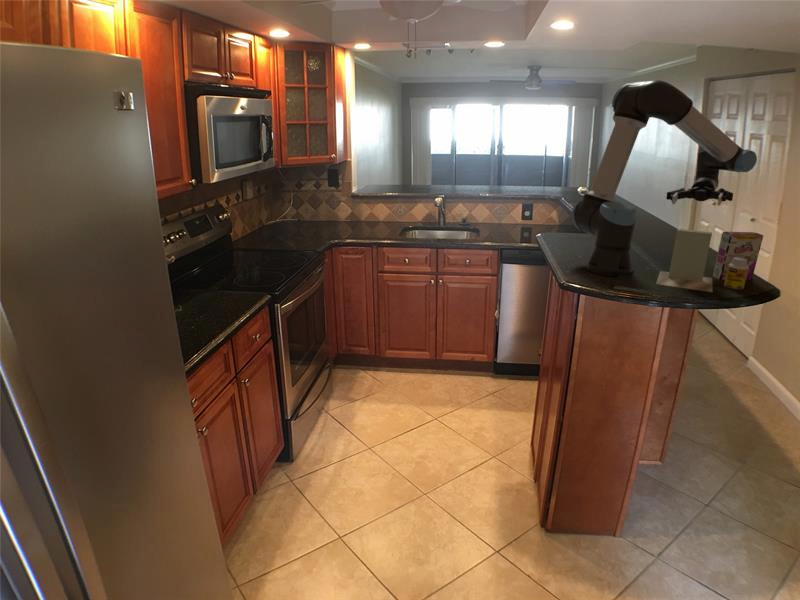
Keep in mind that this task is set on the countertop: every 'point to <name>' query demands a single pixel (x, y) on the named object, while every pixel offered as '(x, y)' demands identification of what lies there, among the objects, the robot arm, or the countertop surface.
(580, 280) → the countertop surface
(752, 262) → the candy bar box
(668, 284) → the board
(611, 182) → the robot arm
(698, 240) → the pale green rectangular block
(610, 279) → the countertop surface
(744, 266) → the supplement bottle
